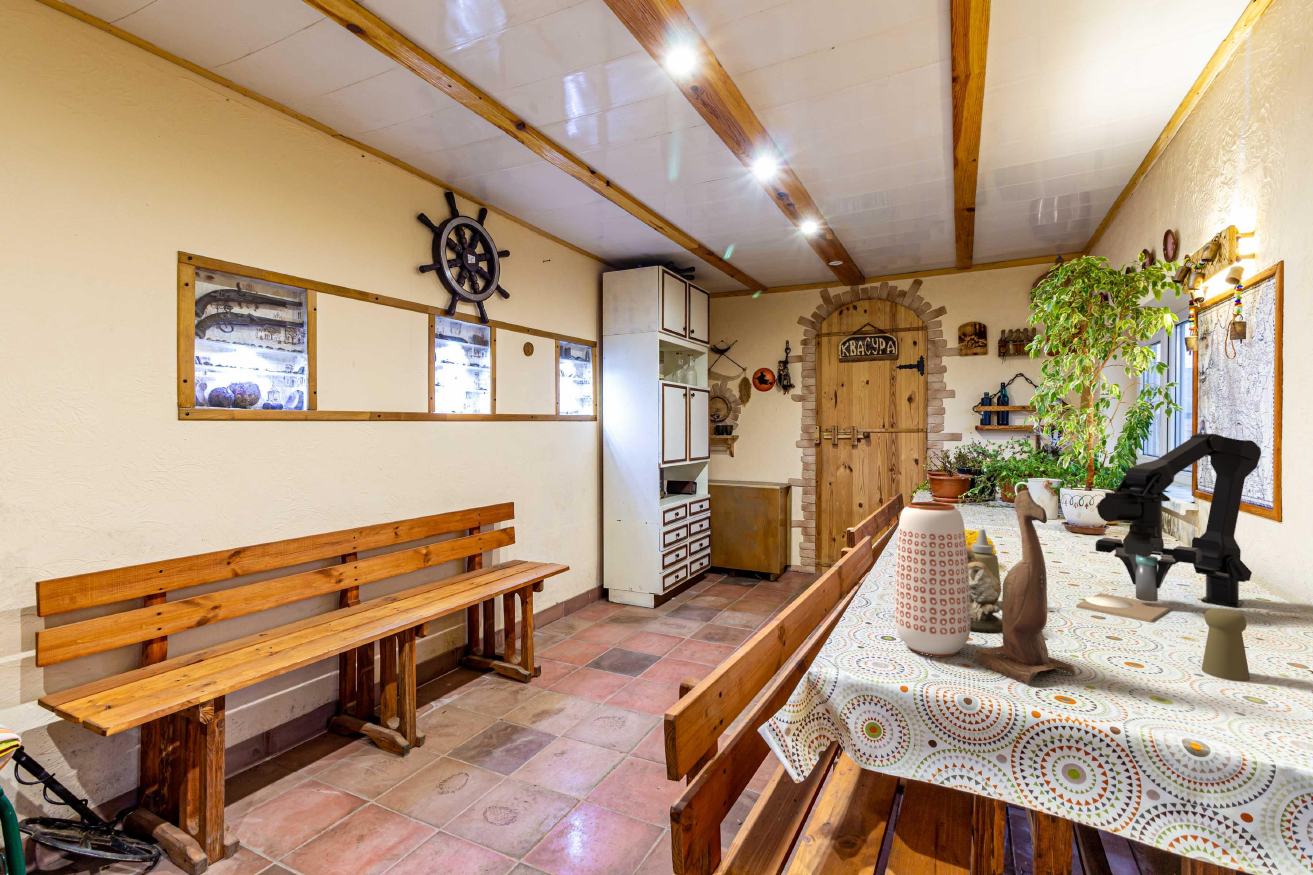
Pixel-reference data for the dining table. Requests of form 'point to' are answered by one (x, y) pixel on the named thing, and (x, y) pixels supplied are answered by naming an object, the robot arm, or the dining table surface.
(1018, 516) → the bird sculpture
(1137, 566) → the marker
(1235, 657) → the cork
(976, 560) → the owl figurine
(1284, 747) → the dining table surface
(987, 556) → the squeeze bottle
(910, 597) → the patterned ceramic vase
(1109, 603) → the kraft pad
